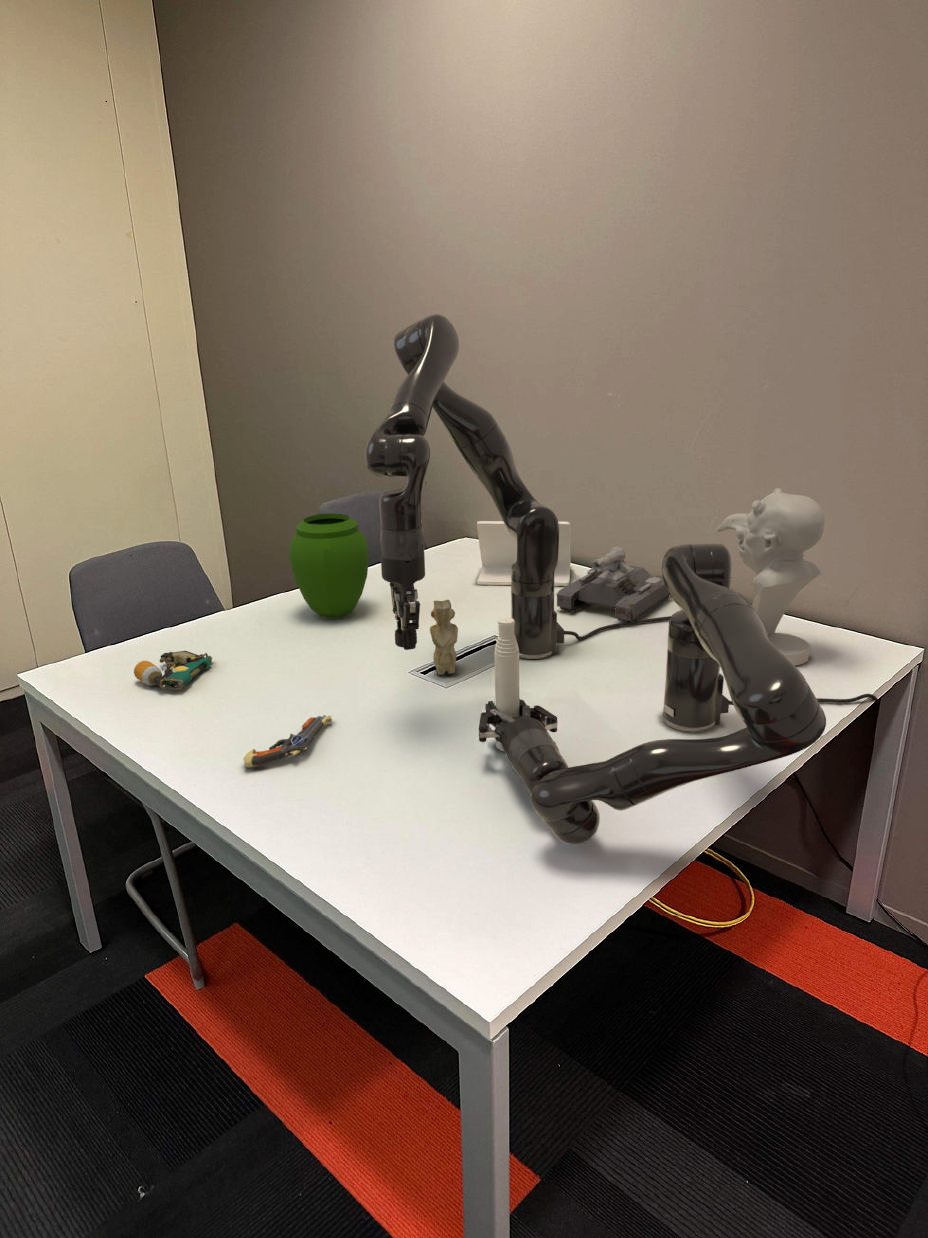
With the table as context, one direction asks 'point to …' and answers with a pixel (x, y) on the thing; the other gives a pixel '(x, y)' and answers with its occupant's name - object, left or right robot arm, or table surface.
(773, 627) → the bust sculpture
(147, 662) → the spray gun
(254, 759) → the toy gun
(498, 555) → the tablet stand
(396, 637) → the cap
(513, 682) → the bottle
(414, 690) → the table surface
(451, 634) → the sculpture
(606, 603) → the toy
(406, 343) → the left robot arm
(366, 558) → the vase
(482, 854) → the table surface
